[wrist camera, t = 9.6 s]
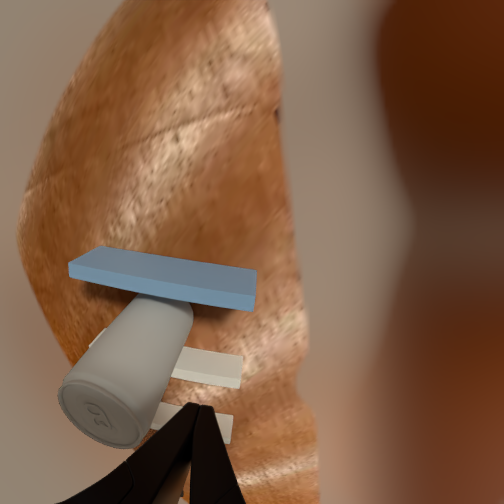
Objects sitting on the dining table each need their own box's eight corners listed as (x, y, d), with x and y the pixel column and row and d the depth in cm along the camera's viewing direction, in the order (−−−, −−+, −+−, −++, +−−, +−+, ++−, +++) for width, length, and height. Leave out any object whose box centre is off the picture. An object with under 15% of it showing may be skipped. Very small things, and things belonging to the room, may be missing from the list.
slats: (232, 421, 25) (228, 456, 21) (115, 395, 25) (98, 424, 21) (256, 270, 21) (255, 296, 16) (100, 245, 21) (68, 262, 16)
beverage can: (145, 335, 23) (80, 441, 11) (131, 282, 21) (40, 373, 10) (200, 335, 22) (158, 457, 11) (189, 278, 21) (122, 387, 10)
